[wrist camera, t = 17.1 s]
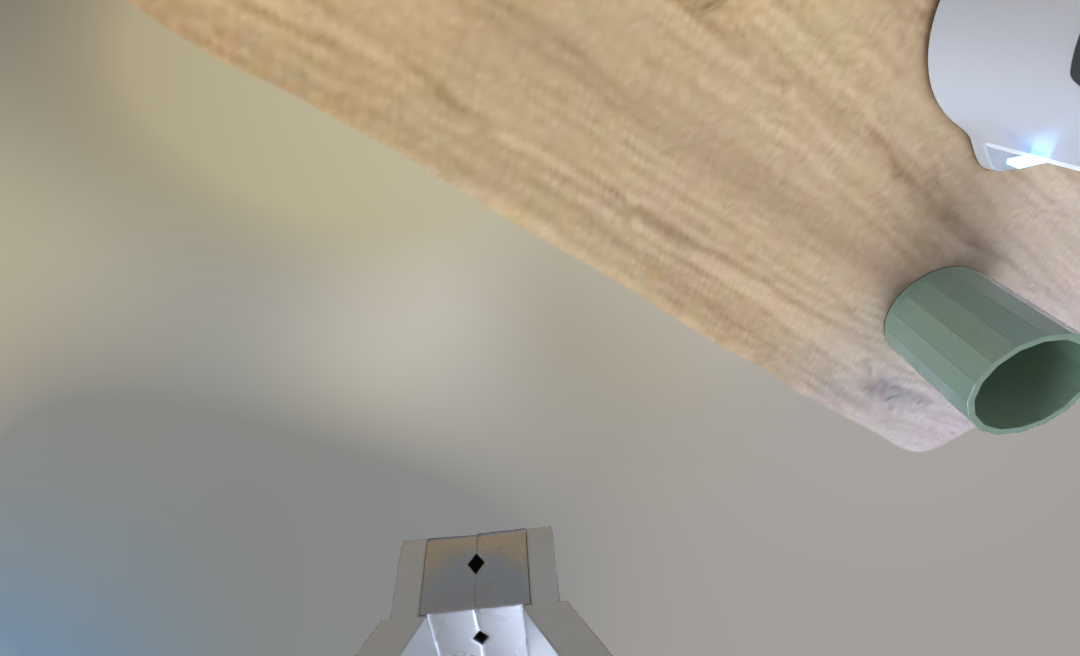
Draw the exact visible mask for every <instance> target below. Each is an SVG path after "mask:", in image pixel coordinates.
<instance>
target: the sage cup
mask: <svg viewBox="0 0 1080 656" xmlns="http://www.w3.org/2000/svg"><path fill="white" fill-rule="evenodd" d="M884 329H885V336H886V339H887V341H888V343H889V345H890V346H891V347H892V348H893V349H894V350H895V351H896V352H897V353H898V354H899V355H900V356H901V357H902V358H903V359H904V360H905V361H906V362H907V363H908V364H909V365H910V366H912V367H913V368H914V369H915V370H916V371H917V372H918V373H919V374H920V375H921V376H922V377H923V378H924V379H925V380H926V381H927V382H928V383H930V384H931V385H932V386H933V387H934V388H935V389H936V390H937V391H938V392H939V393H940V394H941V395H942V396H943V397H944V398H945V399H946V400H948V401H949V402H950V403H951V404H952V405H953V406H954V407H955V408H956V409H957V410H958V411H959V412H960V413H961V414H962V415H963V416H964V417H966V418H967V419H968V420H969V421H970V422H971V423H972V424H973V425H974V426H975V427H976V428H977V429H978V430H981V431H985V432H989V433H993V434H1007V433H1018V432H1022V431H1025V430H1028V429H1031V428H1034V427H1036V426H1039V425H1042V424H1044V423H1046V422H1048V421H1050V420H1051V419H1053V418H1054V417H1056V416H1058V415H1059V414H1061V413H1063V412H1064V411H1066V410H1067V409H1069V408H1070V407H1071V406H1072V405H1073V404H1074V403H1075V402H1076V401H1077V400H1078V399H1079V398H1080V332H1078V331H1076V330H1075V329H1073V328H1071V327H1070V326H1068V325H1067V324H1065V323H1063V322H1062V321H1060V320H1059V319H1057V318H1055V317H1054V316H1052V315H1050V314H1049V313H1047V312H1046V311H1044V310H1042V309H1041V308H1039V307H1037V306H1036V305H1034V304H1033V303H1031V302H1029V301H1028V300H1026V299H1025V298H1023V297H1021V296H1020V295H1018V294H1016V293H1015V292H1013V291H1012V290H1010V289H1008V288H1007V287H1005V286H1003V285H1002V284H1000V283H999V282H997V281H995V280H994V279H992V278H990V277H989V276H987V275H985V274H982V273H980V272H979V271H977V270H975V269H972V268H968V267H961V266H959V267H948V268H943V269H939V270H937V271H934V272H931V273H929V274H927V275H925V276H923V277H921V278H920V279H918V280H917V281H915V282H914V283H912V284H911V285H910V286H909V287H907V288H906V289H905V290H904V291H903V292H902V293H901V294H900V295H899V296H898V298H897V299H896V300H895V302H894V303H893V305H892V306H891V308H890V310H889V312H888V314H887V317H886V321H885V328H884Z"/></svg>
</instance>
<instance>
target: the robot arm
mask: <svg viewBox="0 0 1080 656" xmlns="http://www.w3.org/2000/svg"><path fill="white" fill-rule="evenodd" d="M928 71H929V78H930V83H931V87H932V91H933V93H934V96H935V98H936V100H937V102H938V104H939V106H940V107H941V109H942V110H943V112H944V113H945V114H946V115H947V116H948V117H949V118H950V119H951V120H952V121H953V122H954V123H956V124H957V125H958V126H959V127H961V128H962V129H963V130H964V131H965V132H966V133H967V134H968V135H969V137H970V138H971V142H972V146H973V149H974V152H975V155H976V158H977V160H978V162H979V164H980V165H981V166H982V167H983V168H985V169H989V170H993V171H998V172H1002V171H1007V170H1011V169H1015V168H1024V167H1028V166H1032V165H1037V164H1041V163H1045V162H1047V163H1051V164H1054V165H1058V166H1062V167H1066V168H1069V169H1073V170H1077V171H1080V0H940V2H939V5H938V8H937V10H936V14H935V17H934V20H933V25H932V29H931V34H930V39H929V48H928ZM526 533H527V534H526ZM354 656H613V655H612V654H611V653H610V651H609V650H608V649H607V648H606V647H605V645H604V644H603V643H602V642H601V641H600V639H599V638H598V637H597V636H596V635H595V633H594V632H593V631H592V630H591V629H590V627H589V626H588V625H587V624H586V623H585V621H584V620H583V619H582V618H581V617H580V615H579V614H578V613H577V612H576V610H575V609H574V608H573V607H572V606H571V604H570V603H569V602H568V601H560V595H559V586H558V577H557V570H556V561H555V551H554V542H553V534H552V529H551V527H550V526H549V527H540V528H530V529H525V528H524V529H515V530H506V531H498V532H490V533H480V534H478V535H471V536H457V537H443V538H430V539H418V540H408V541H403V544H402V546H401V548H400V552H399V559H398V565H397V572H396V578H395V585H394V591H393V597H392V604H391V610H390V617H389V620H382V621H381V622H380V623H379V625H378V626H377V627H376V629H375V630H374V631H373V632H372V634H371V635H370V636H369V637H368V639H367V640H366V641H365V642H364V644H363V645H362V646H361V648H360V649H359V650H358V652H357V653H356V654H355V655H354Z"/></svg>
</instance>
